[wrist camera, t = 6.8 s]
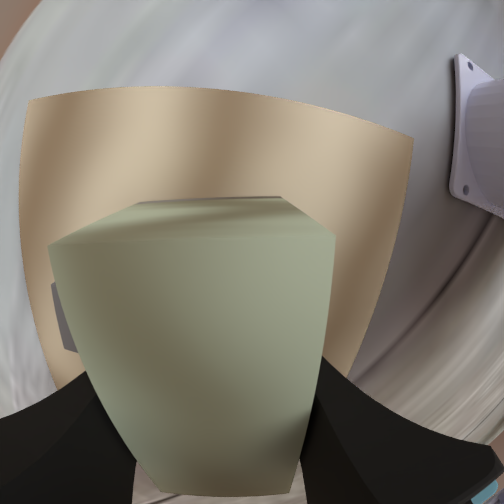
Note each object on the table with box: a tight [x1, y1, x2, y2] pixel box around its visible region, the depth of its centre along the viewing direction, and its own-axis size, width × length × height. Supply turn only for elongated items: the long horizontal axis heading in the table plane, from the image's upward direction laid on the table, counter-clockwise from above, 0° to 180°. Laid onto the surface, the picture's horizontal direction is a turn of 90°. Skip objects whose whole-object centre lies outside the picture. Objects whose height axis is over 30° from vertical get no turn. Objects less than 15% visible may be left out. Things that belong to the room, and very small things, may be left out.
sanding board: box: [19, 86, 414, 390], centre depth 10 cm, size 15×17×2 cm
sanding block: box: [47, 196, 336, 497], centre depth 7 cm, size 4×9×5 cm, turn 1°
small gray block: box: [51, 282, 78, 353], centre depth 9 cm, size 3×3×1 cm
